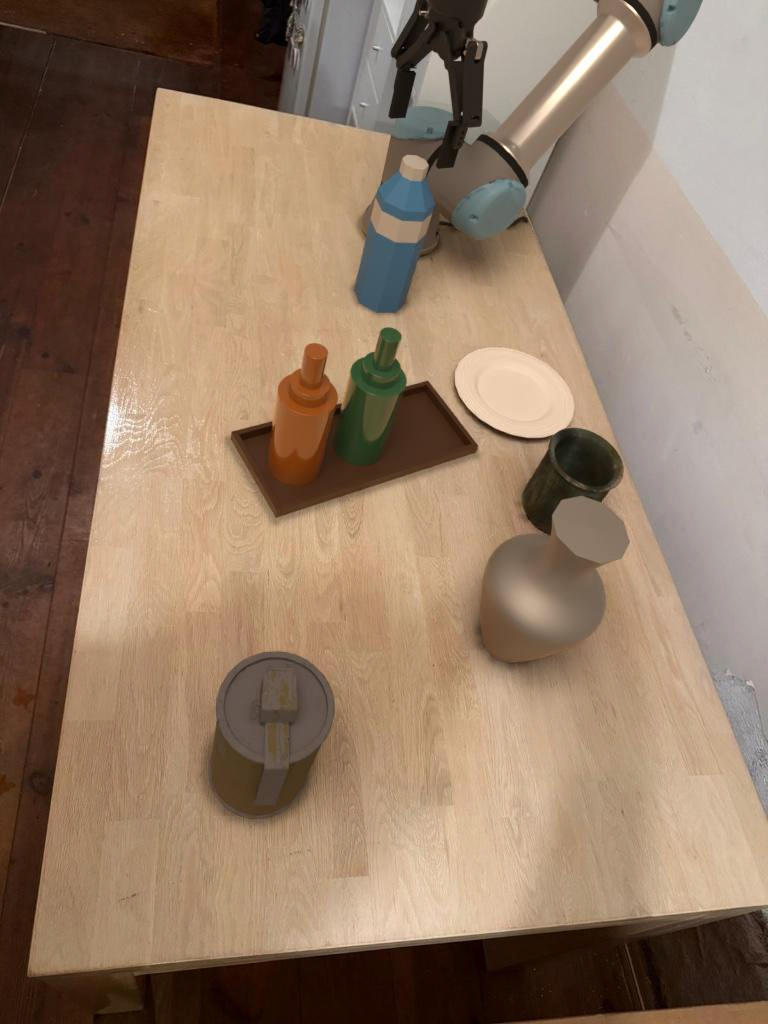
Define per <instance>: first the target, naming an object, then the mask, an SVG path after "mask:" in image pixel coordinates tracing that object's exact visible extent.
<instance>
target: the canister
mask: <svg viewBox="0 0 768 1024" xmlns="http://www.w3.org/2000/svg"><path fill="white" fill-rule="evenodd" d="M335 712H336V701H335V697H334V693H333V690H332V687H331V685H330V682H329V680H328V679H327V678H326V676H325V674H324V673H323V672H322V671H321V670H320V669H319V668H318V667H317V666H316V665H315V664H314V663H312V662H311V661H309V660H308V659H306V658H304V657H302V656H301V655H298V654H295V653H291V652H287V651H277V650H276V651H275V650H274V651H273V650H272V651H262V652H260V653H256V654H252V655H251V656H248V657H246V658H244V659H243V660H241V661H240V662H238V663H237V664H235V665H234V666H233V668H232V669H230V670H229V672H228V673H227V674H226V676H225V678H224V679H223V681H222V682H221V684H220V686H219V689H218V691H217V696H216V700H215V715H216V722H215V729H214V737H213V738H214V739H213V744H212V745H213V746H212V751H211V754H210V758H209V761H208V777H209V784H210V788H211V789H212V792H213V794H214V796H215V798H216V799H217V800H218V802H220V803H221V805H222V806H223V807H224V808H226V809H227V810H228V811H229V812H231V813H233V814H235V815H237V816H239V817H242V818H247V819H250V820H254V819H255V820H256V819H266V818H272V817H275V816H277V815H279V814H281V813H282V812H284V811H285V810H287V809H289V808H290V807H292V806H293V804H295V802H296V801H297V800H298V799H299V798H300V796H301V794H302V793H303V791H304V789H305V786H306V783H307V780H308V776H309V773H310V770H311V768H312V766H313V764H314V761H315V760H316V758H317V755H318V754H319V752H320V749H321V746H322V745H323V743H324V742H325V740H326V739H327V738H328V736H329V734H330V732H331V729H332V727H333V724H334V719H335V714H336V713H335Z"/></svg>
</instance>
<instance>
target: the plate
mask: <svg viewBox="0 0 768 1024" xmlns="http://www.w3.org/2000/svg"><path fill="white" fill-rule="evenodd" d="M454 387H455V389H456V392H457V394H458V397H459V399H460V400H461V401H462V403H463V404H464V406H465V407H466V408H467V410H468V411H469V412H470V413H472V414H473V415H474V416H475V417H476V418H477V419H478V420H479V421H480V422H483V423H484V424H485V425H487V426H489V427H490V428H491V429H494V430H497V431H499V432H500V433H501V432H502V433H504V434H507V435H508V436H513V437H517V438H524V439H545V438H548V437H552V436H553V435H554V434H555V433H557V432H558V431H560V430H562V429H565V428H568V426H569V425H570V423H571V422H572V420H573V419H574V416H575V415H574V414H575V410H576V406H575V400H574V395H573V393H572V391H571V390H570V387H569V385H568V384H567V382H566V381H565V379H563V378H562V376H561V375H560V374H559V373H558V372H557V371H556V370H555V369H553V367H551V366H550V365H549V364H548V363H546V362H544V361H542V360H541V359H539V358H537V357H535V356H534V355H532V354H529V353H526V352H524V351H522V350H517V349H514V348H508V347H502V346H501V347H500V346H499V347H497V346H488V347H483V348H479V349H475V350H473V351H471V352H468V353H467V354H465V355H464V356H463V357H462V359H460V360H459V361H458V363H457V366H456V368H455V371H454Z"/></svg>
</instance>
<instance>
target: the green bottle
mask: <svg viewBox="0 0 768 1024" xmlns="http://www.w3.org/2000/svg"><path fill="white" fill-rule="evenodd" d="M402 338H403V337H402V333H401V332H400V331H399V330H398V329H396V328H394V327H388V326H386V327H383V328H381V329H380V331H379V334H378V337H377V341H376V345H375V347H374V348H375V349H374V351H371V352H369V353H367V354H366V355H364V356H363V357H360V358H358V359H356V360H355V361H354V362H353V363H352V365H351V367H350V370H349V374H348V379H347V382H346V386H345V390H344V393H343V394H344V395H343V397H342V402H341V403H342V406H341V410H340V414H339V418H338V422H337V426H336V429H335V433H334V437H333V447H334V450H335V452H336V453H337V454H338V456H339V457H340V458H342V459H343V460H345V461H346V462H348V463H351V464H354V465H360V466H366V465H371V464H374V463H375V462H377V461H378V460H379V459H380V458H381V457H382V455H383V452H384V449H385V447H386V444H387V441H388V438H389V435H390V432H391V429H392V426H393V423H394V420H395V417H396V414H397V411H398V408H399V405H400V402H401V399H402V396H403V393H404V390H405V387H406V386H407V383H408V380H407V375H406V373H405V371H404V370H403V368H402V366H401V363H400V361H399V359H397V355H398V352H399V349H400V345H401V342H402Z"/></svg>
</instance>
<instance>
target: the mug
mask: <svg viewBox="0 0 768 1024" xmlns="http://www.w3.org/2000/svg"><path fill="white" fill-rule="evenodd" d="M624 473H625V469H624V463H623V460H622V457H621V456H620V454H619V452H618V451H617V449H616V448H615V447H614V446H613V445H612V443H610V442H609V441H608V440H607V439H606V438H604V437H603V436H601V435H599V434H598V433H596V432H594V431H591V430H589V429H585V428H582V427H566V428H565V429H562V430H560V431H558V432H557V433H555V434H554V435H553V436H551V438H550V440H549V442H548V448H547V451H546V452H545V454H544V455H543V457H542V459H541V460H540V462H539V464H538V466H537V467H536V468H535V471H534V472H533V473H532V475H531V477H530V479H529V480H528V482H527V484H526V485H525V487H524V488H523V491H522V494H521V502H522V503H521V504H522V508H523V510H524V512H525V514H526V516H527V518H528V520H529V521H530V522H531V523H532V524H533V525H534V526H535V527H536V528H537V529H539V530H540V531H542V532H544V533H547V534H548V535H551V531H552V514H553V513H554V511H555V510H556V508H557V507H558V505H559V503H560V502H561V500H564V499H569V498H574V497H578V496H584V497H587V498H590V499H592V500H595V501H598V502H601V503H603V501H604V499H605V498H606V497H607V495H608V494H609V493H610V491H612V490H613V489H616V487H618V486H619V485H620V484H621V482H622V480H623V477H624Z"/></svg>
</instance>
